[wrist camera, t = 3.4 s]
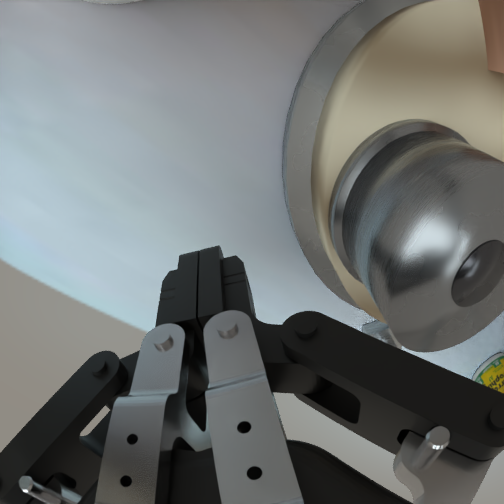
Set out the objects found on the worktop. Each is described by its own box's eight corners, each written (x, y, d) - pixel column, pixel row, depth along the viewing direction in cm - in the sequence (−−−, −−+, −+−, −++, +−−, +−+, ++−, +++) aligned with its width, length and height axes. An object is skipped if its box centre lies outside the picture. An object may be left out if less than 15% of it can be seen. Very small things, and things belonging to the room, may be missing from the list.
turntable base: (237, -15, 10) (239, -21, 9) (541, 17, 9) (551, 19, 9) (307, 341, 21) (311, 351, 20) (523, 263, 21) (529, 270, 20)
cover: (316, 132, 11) (385, 182, 6) (476, 114, 11) (564, 152, 6) (333, 297, 15) (372, 384, 11) (463, 257, 15) (518, 318, 10)
